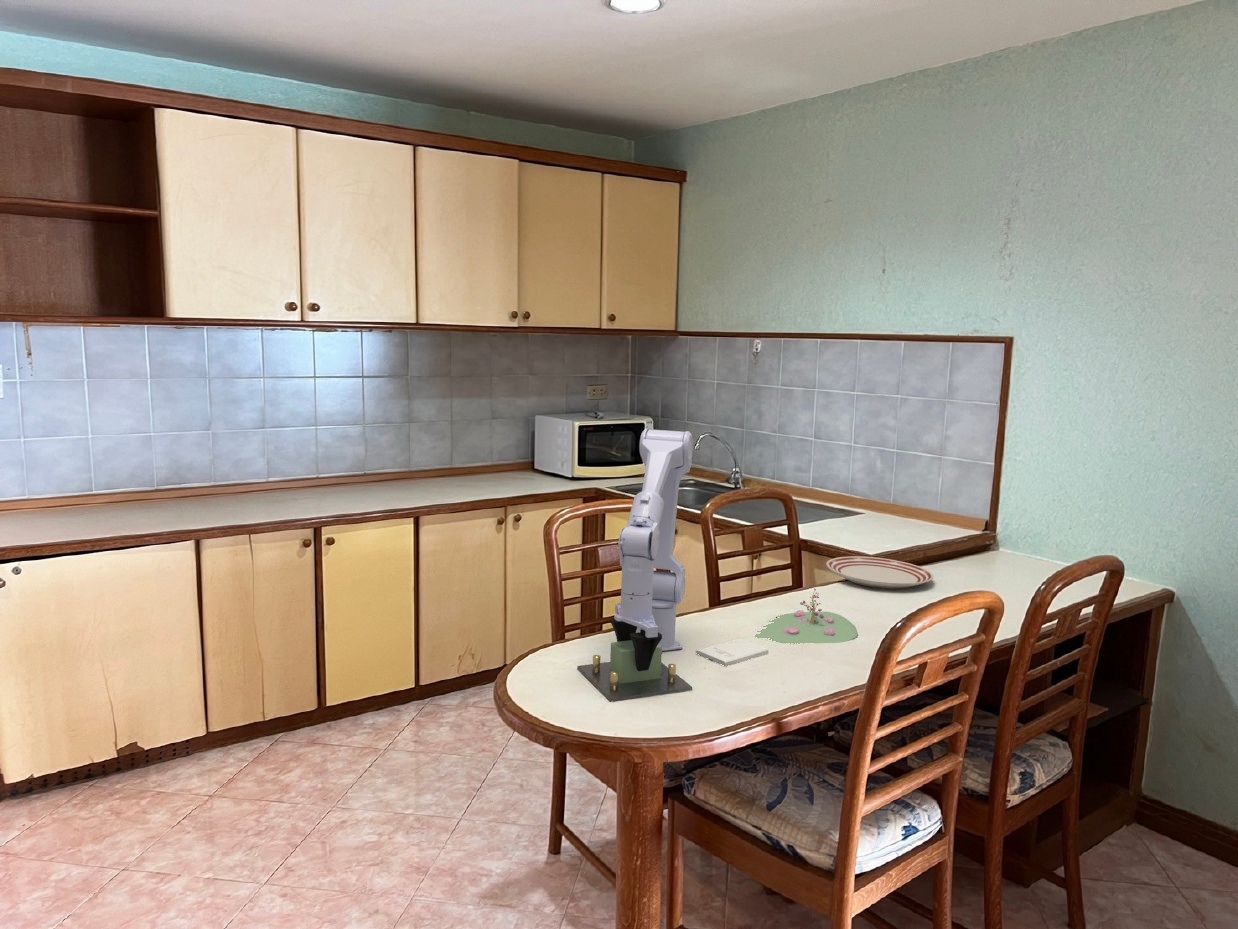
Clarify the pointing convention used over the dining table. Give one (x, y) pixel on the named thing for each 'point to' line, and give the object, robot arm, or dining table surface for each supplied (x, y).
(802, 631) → the plant
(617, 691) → the chassis
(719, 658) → the external hard drive
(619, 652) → the board block
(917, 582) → the dinner plate
